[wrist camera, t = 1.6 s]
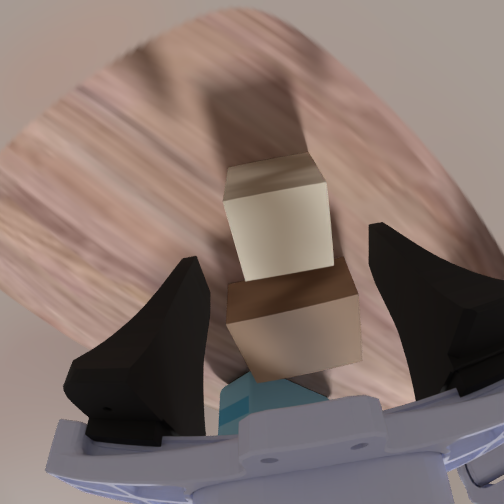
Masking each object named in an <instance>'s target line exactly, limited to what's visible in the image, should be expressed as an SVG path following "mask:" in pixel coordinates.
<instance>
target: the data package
mask: <svg viewBox="0 0 504 504" xmlns="http://www.w3.org/2000/svg"><path fill="white" fill-rule="evenodd" d="M327 400H329V399H328V398H327V397H325V396H323V395H321V394H318V393H316V392H314V391H311V390H309V389H307V388H304V387H302V386H300V385H297V384H295V383H293V382H291V381H289V380H286V379H280V380H274V381H268V382H263V383H257V382H256V381H255V379H254V377H253V375H252V373H251V371H249V372H248V373H246V374H245V375H243V376H241V377H240V378H238V379H237V380H235V381H233V382H232V383H230V384H228V385H227V386H225V387H224V388H223V389H222V391H221V393H220V408H219V428H218V429H219V430H218V436H219V435H236V434H238V429H239V421H241V420H242V419H244V418H245V417H247V416H248V415H250V414H251V413H256V412H260V411H264V410H269V409H277V408H285V407H292V406H298V405H305V404H311V403H316V402H322V401H327Z"/></svg>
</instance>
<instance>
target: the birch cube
mask: <svg viewBox="0 0 504 504" xmlns="http://www.w3.org/2000/svg"><path fill="white" fill-rule="evenodd" d="M223 204H224V208H225V211H226V215H227V218H228V222H229V225H230V229H231V233H232V236H233V240H234V243H235V247H236V250H237V254H238V257H239V260H240V264H241V267H242V271H243V274H244V278H245V281H251V280H257V279H262V278H268V277H274V276H279V275H285V274H291V273H296V272H302V271H307V270H312V269H318V268H323V267H329V266H334V257H333V244H332V232H331V221H330V211H329V201H328V192H327V183H326V181H325V179H324V177H323V175H322V174H321V172H320V170H319V169H318V167H317V165H316V164H315V162H314V160H313V159H312V157H311V155H310V154H309V152H307V153H301V154H295V155H289V156H284V157H278V158H273V159H267V160H262V161H257V162H252V163H247V164H242V165H237V166H233V167H228V171H227V177H226V184H225V190H224V196H223Z"/></svg>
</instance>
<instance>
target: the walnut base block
mask: <svg viewBox="0 0 504 504" xmlns="http://www.w3.org/2000/svg"><path fill="white" fill-rule="evenodd" d="M226 326H227V328H228V330H229V331H230V333H231V335H232V337H233V339H234V341H235V343H236V345H237V347H238V349H239V351H240V353H241V354H242V356H243V358H244V360H245V362H246V364H247V366H248V368H249V370H250V371H251V373H252V375H253V377H254V379H255V381H256V382H257V383H263V382H268V381H274V380H280V379H285V378H290V377H295V376H300V375H305V374H310V373H314V372H319V371H323V370H327V369H332V368H336V367H340V366H344V365H348V364H352V363H356V362H360V361H362V340H361V322H360V308H359V295H358V292H357V289H356V287H355V284H354V281H353V279H352V276H351V274H350V271H349V269H348V267H347V264H346V262H345V259H344V257H340V258H336V259H334V266H329V267H323V268H318V269H312V270H307V271H302V272H296V273H291V274H285V275H279V276H274V277H268V278H262V279H257V280H251V281H245V280H244V281H240V282H235V283H231V284H228V297H227V313H226Z"/></svg>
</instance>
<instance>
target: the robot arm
mask: <svg viewBox="0 0 504 504" xmlns="http://www.w3.org/2000/svg"><path fill="white" fill-rule="evenodd" d="M369 267H370V270H371V273H372V276H373V278H374V281H375V284H376V286H377V288H378V290H379V292H380V294H381V296H382V298H383V300H384V302H385V304H386V306H387V308H388V310H389V312H390V315H391V317H392V319H393V321H394V323H395V325H396V328H397V330H398V333H399V336H400V339H401V342H402V346H403V349H404V352H405V356H406V359H407V363H408V367H409V371H410V375H411V379H412V384H413V388H414V394H415V399H416V401H415V402H412V403H409V404H405V405H402V406H398V407H395V408H391V409H387V410H383V411H382V407H381V404H380V401H379V399H377V398H375V397H371V396H367V395H357V396H347V397H343V398H338V399H333V400H327V401H322V402H316V403H311V404H305V405H298V406H292V407H285V408H277V409H269V410H264V411H260V412H256V413H251V414H250V415H248V416H247V417H245V418H244V419H242V420H241V421H239V429H238V434H236V435H219V436H206V432H205V420H204V395H203V365H204V354H205V347H206V340H207V333H208V326H209V319H210V290H209V288H208V285H207V283H206V280H205V277H204V275H203V272H202V269H201V267H200V264H199V261H198V259H197V256H193V257H188V258H183V259H182V260H181V261H180V262H179V264H178V265H177V266H176V267H175V269H174V270H173V271H172V273H171V274H170V275H169V277H168V278H167V279H166V281H165V282H164V283H163V284H162V286H161V287H160V288H159V289H158V291H157V292H156V293H155V294H154V295H153V297H152V298H151V299H150V300H149V301H148V302H147V304H146V305H145V306H144V307H143V308H142V309H141V310H140V311H139V312H138V313H137V314H136V315H135V316H134V317H133V318H132V319H131V320H130V321H129V322H128V323H126V324H125V325H124V326H123V327H122V328H121V329H119V330H118V331H117V332H116V333H115V334H113V335H112V336H111V337H109V338H108V339H107V340H105V341H104V342H103V343H101V344H100V345H98V346H97V347H95V348H94V349H92V350H90V351H89V352H87V353H85V354H84V355H82V356H80V357H78V358H77V359H75V360H73V362H72V364H71V367H70V369H69V372H68V375H67V378H66V380H65V383H64V386H63V389H64V392H65V394H66V396H67V397H68V399H69V400H71V402H72V403H73V404H75V406H77V407H78V408H79V409H80V410H81V411H82V412H83V413H84V414H86V415H87V416H88V417H89V420H88V424H85V423H83V422H79V421H73V420H64V419H60V420H59V423H58V425H57V429H56V432H55V435H54V439H53V442H52V446H51V450H50V453H49V457H48V461H47V465H46V469H45V471H46V472H47V473H49V474H50V475H52V476H54V477H56V478H58V479H59V480H61V481H63V482H65V483H67V484H69V485H71V486H73V487H75V488H76V489H79V490H81V491H83V492H86V493H90V494H93V495H97V496H102V497H106V498H110V499H115V500H119V501H124V502H129V503H134V504H454V500H453V495H452V491H451V487H450V484H449V480H448V476H447V472H449V471H451V470H453V469H456V468H457V471H458V474H459V477H460V479H461V481H462V482H463V484H464V485H465V488H466V490H467V493H468V496H469V499H470V500H471V502H472V503H474V504H504V480H502V481H500V482H498V483H496V484H489V483H490V482H491V481H493V480H495V479H497V478H499V477H500V476H502V475H504V280H499V279H495V278H491V277H488V276H484V275H481V274H478V273H475V272H472V271H469V270H467V269H464V268H462V267H459V266H457V265H454V264H452V263H450V262H448V261H446V260H444V259H442V258H440V257H438V256H436V255H434V254H432V253H431V252H429V251H427V250H425V249H424V248H422V247H420V246H419V245H417V244H416V243H414V242H412V241H411V240H409V239H408V238H406V237H405V236H403V235H402V234H400V233H399V232H397V231H396V230H394V229H393V228H391V227H390V226H388V225H386V224H385V223H383V222H380V223H375V224H369Z"/></svg>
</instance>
